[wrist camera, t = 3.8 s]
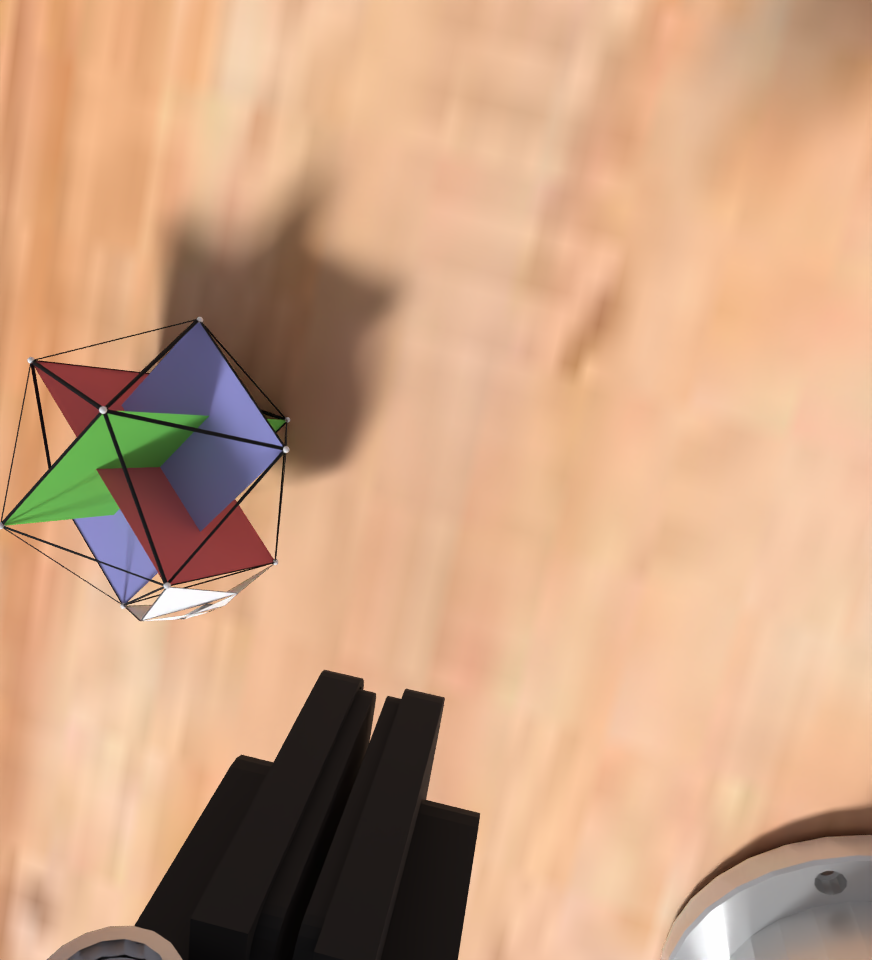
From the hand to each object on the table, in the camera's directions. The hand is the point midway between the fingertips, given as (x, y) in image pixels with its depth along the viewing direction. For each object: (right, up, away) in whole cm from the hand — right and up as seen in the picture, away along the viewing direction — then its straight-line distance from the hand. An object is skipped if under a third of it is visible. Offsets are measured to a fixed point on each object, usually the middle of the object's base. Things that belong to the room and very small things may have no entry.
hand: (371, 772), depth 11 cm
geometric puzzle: (-6, +5, +13) cm, 15 cm away
